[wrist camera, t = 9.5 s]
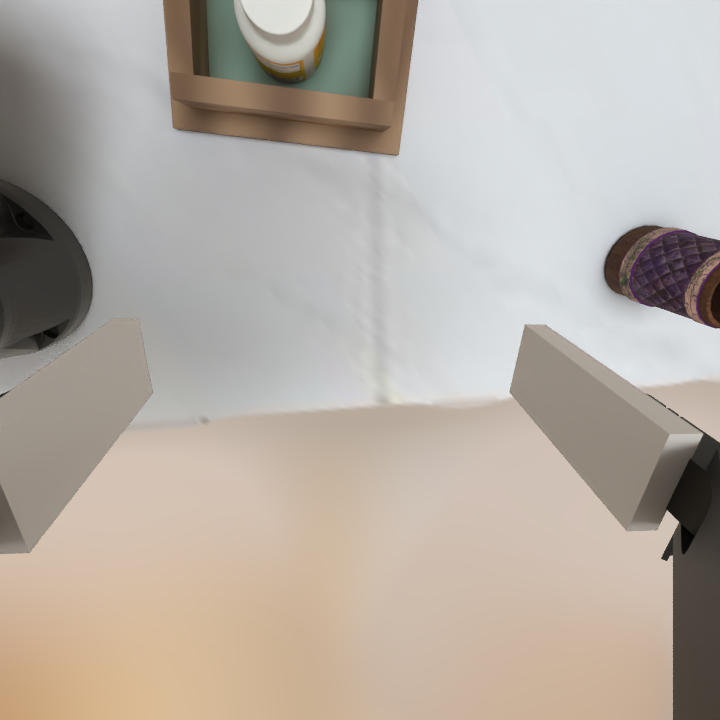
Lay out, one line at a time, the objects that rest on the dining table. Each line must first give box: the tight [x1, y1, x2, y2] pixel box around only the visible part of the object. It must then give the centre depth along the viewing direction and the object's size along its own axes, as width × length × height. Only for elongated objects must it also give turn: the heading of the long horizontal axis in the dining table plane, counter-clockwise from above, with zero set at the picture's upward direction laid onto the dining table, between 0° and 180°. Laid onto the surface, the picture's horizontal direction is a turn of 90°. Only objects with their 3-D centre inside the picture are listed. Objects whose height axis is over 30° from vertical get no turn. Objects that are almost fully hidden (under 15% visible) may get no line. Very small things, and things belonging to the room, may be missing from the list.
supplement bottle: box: [234, 0, 326, 84], centre depth 25 cm, size 5×5×10 cm
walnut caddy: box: [163, 0, 418, 155], centre depth 28 cm, size 18×13×6 cm
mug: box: [605, 226, 720, 328], centre depth 35 cm, size 10×7×12 cm
